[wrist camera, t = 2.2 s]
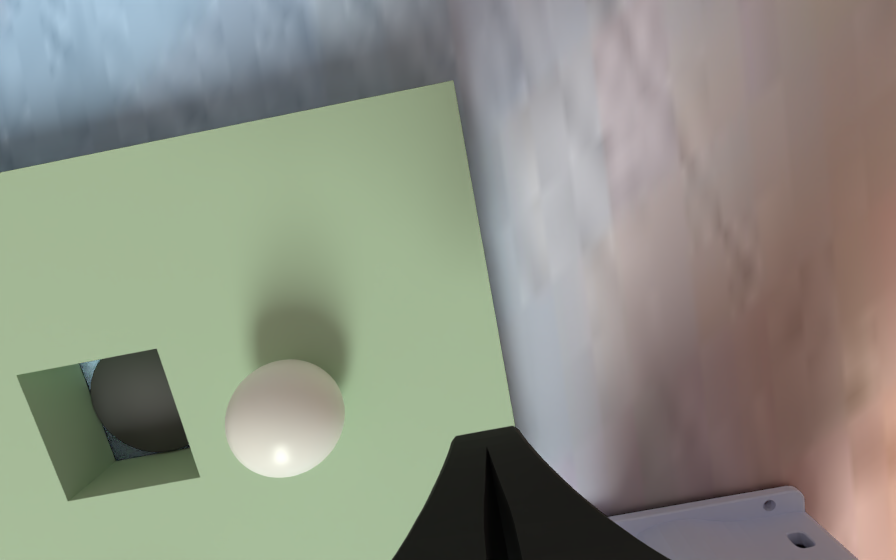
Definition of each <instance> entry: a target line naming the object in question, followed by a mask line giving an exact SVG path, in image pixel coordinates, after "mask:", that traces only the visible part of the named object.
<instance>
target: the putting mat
mask: <svg viewBox="0 0 896 560" xmlns="http://www.w3.org/2000/svg"><path fill="white" fill-rule="evenodd" d="M99 359H101V361H100V362H99V363H98V365H97V366H96V369H95V371H94V373H93V376H92V380H91V394H90V392H89V389H88V386H87V384H86V381H85V378H84V376H83V373H82V370H81V368H80V365H79V363H83V362H88V361H94V360H99ZM287 359H295V360H302V361H306V362H309V363H312V364H314V365H316V366H318V367H320V368H321V369H323V370H324V371H326V372H327V373H328V374H329V375H330V376H331V377H332V378H333V379H334V381H335V382H336V384H337V385H338V387H339V389H340V391H341V394H342V397H343V400H344V405H345V420H344V426H343V430H342V433H341V436H340V438H339V440H338V442H337V444H336V445H335V447H334V449H333V450H332V451H331V453H330V454H329V455H328V456H327V457H326V458H325V459H324V460H323V461H322V462H321V463H319V464H318V465H317V466H315V467H314V468H312V469H310V470H309V471H307V472H304V473H302V474H299V475H296V476H292V477H284V478H273V477H267V476H263V475H260V474H257V473H255V472H253V471H251V470H249V469H248V468H246V467H245V466H244V465H243V464H241V463H240V462H239V460H238V459H237V458H236V457H235V455H234V454H233V452H232V451H231V449H230V447H229V444H228V442H227V438H226V434H225V415H226V410H227V406H228V403H229V401H230V399H231V397H232V395H233V393H234V391H235V390H236V388H237V387H238V385H239V384H240V383H241V382H242V381H243V380H244V379H245V378H246V377H247V376H248V375H249V374H251V373H252V372H253V371H255V370H256V369H258V368H260V367H261V366H264V365H266V364H268V363H271V362H275V361H279V360H287ZM102 424H103V425H104V427H105V428H106V429H107V430H108V431H109V432H110V433H111V434H112V435H113V436H115V437H116V438H117V439H119V440H120V441H122V442H123V443H125V444H127V445H129V446H131V447H134V448H137V449H140V450H144V451H150V452H163V453H158V454H152V455H147V456H141V457H136V458H130V459H125V460H119V461H116V460H115V458H114V455H113V453H112V450H111V447H110V445H109V442H108V439H107V437H106V434H105V431H104V429H103V426H102ZM508 426H514V427H515V423H514V417H513V412H512V406H511V401H510V395H509V389H508V384H507V378H506V373H505V367H504V361H503V356H502V350H501V345H500V339H499V333H498V328H497V322H496V317H495V311H494V305H493V300H492V294H491V289H490V283H489V277H488V272H487V266H486V261H485V255H484V249H483V244H482V238H481V233H480V227H479V221H478V216H477V210H476V205H475V199H474V193H473V188H472V182H471V177H470V171H469V165H468V160H467V154H466V149H465V143H464V137H463V132H462V126H461V121H460V115H459V109H458V104H457V98H456V93H455V87H454V81H448V82H443V83H438V84H433V85H428V86H423V87H418V88H413V89H408V90H403V91H399V92H394V93H389V94H384V95H379V96H374V97H369V98H364V99H359V100H354V101H349V102H344V103H340V104H335V105H330V106H325V107H320V108H315V109H310V110H305V111H300V112H295V113H290V114H286V115H281V116H276V117H271V118H266V119H261V120H256V121H251V122H246V123H241V124H236V125H232V126H227V127H222V128H217V129H212V130H207V131H202V132H197V133H192V134H187V135H182V136H178V137H173V138H168V139H163V140H158V141H153V142H148V143H143V144H138V145H133V146H128V147H124V148H119V149H114V150H109V151H104V152H99V153H94V154H89V155H84V156H79V157H74V158H69V159H65V160H60V161H55V162H50V163H45V164H40V165H35V166H30V167H25V168H20V169H15V170H11V171H6V172H1V173H0V560H392V558H393V557H394V555H395V554H396V552H397V551H398V549H399V548H400V546H401V545H402V543H403V541H404V540H405V538H406V537H407V535H408V533H409V531H410V530H411V528H412V526H413V524H414V523H415V521H416V519H417V517H418V516H419V514H420V512H421V510H422V508H423V507H424V505H425V503H426V501H427V499H428V497H429V495H430V493H431V491H432V488H433V486H434V484H435V482H436V480H437V478H438V476H439V474H440V471H441V469H442V467H443V464H444V462H445V459H446V457H447V454H448V451H449V448H450V445H451V442H452V440H453V439H454V438H455V436H458V435H464V434H469V433H475V432H480V431H486V430H491V429H497V428H502V427H508ZM188 444H189V445H190V448H185V449H179V448H182V447H184V446H186V445H188ZM177 449H179V450H177ZM173 450H174V451H173ZM167 451H169V452H167Z"/></svg>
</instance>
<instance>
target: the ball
mask: <svg viewBox="0 0 896 560" xmlns="http://www.w3.org/2000/svg"><path fill="white" fill-rule="evenodd" d="M344 420H345V405H344V400H343V397H342V394H341V391H340V389H339V387H338V385H337V384H336V382H335V381H334V379H333V378H332V377H331V376H330V375H329V374H328V373H327V372H326V371H324V370H323V369H321V368H320V367H318V366H316V365H314V364H312V363H309V362H306V361H302V360H295V359H287V360H279V361H275V362H271V363H268V364H266V365H264V366H261V367H260V368H258V369H256V370H255V371H253V372H252V373H251V374H249V375H248V376H247V377H246V378H245V379H244V380H243V381H242V382H241V383H240V384H239V385H238V387H237V388H236V390H235V391H234V393H233V395H232V397H231V399H230V401H229V403H228V406H227V410H226V415H225V434H226V438H227V442H228V444H229V447H230V449H231V451H232V452H233V454H234V455H235V457H236V458H237V459H238V460H239V462H240V463H241V464H243V465H244V466H245V467H246V468H248V469H249V470H251V471H253V472H255V473H257V474H260V475H263V476H267V477H273V478H284V477H292V476H296V475H299V474H302V473H304V472H307V471H309V470H310V469H312V468H314V467H315V466H317V465H318V464H319V463H321V462H322V461H323V460H324V459H325V458H326V457H327V456H328V455H329V454H330V453H331V451H332V450H333V449H334V447H335V445H336V444H337V442H338V440H339V438H340V436H341V433H342V430H343V426H344Z"/></svg>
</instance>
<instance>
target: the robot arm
mask: <svg viewBox="0 0 896 560" xmlns="http://www.w3.org/2000/svg"><path fill="white" fill-rule="evenodd" d="M768 500H769V501H768ZM766 501H768V502H767V503H766V504H764V503H765V502H766ZM392 560H858V559H857V558H856V557H855V556H854V555H853V554H852V553H851V552H850V551H848V550H847V549H846V548H845V547H844V546H843V545H842V544H841V543H840V542H838V541H837V540H836V539H835V538H834V537H833V536H832V535H831V534H830V533H828V532H827V531H826V530H825V529H824V528H823V527H822V526H821V525H820V524H818V523H817V522H816V521H815V520H814V519H813V518H812V517H811V516H810V515H808V514H807V513H806V512H805V498H804V495H803V494H802V493H801V492H800V491H799V490H798V489H797V488H796V487H793V486H783V487H777V488H771V489H765V490H760V491H754V492H748V493H742V494H737V495H731V496H725V497H719V498H714V499H708V500H702V501H697V502H691V503H685V504H679V505H674V506H668V507H662V508H656V509H651V510H645V511H639V512H633V513H628V514H622V515H616V516H610V517H607V516H606V515H604V514H603V513H602V512H600V511H599V510H598V509H597V508H595V507H594V506H593V505H592V504H591V503H589V502H588V501H587V500H586V499H585V498H584V497H582V496H581V495H580V494H579V493H578V492H577V491H575V490H574V489H573V488H572V487H571V486H570V485H569V484H568V483H567V482H566V481H565V480H564V479H562V478H561V477H560V476H559V475H558V474H557V473H556V472H555V471H554V470H553V469H552V468H551V467H550V466H549V465H548V464H547V463H546V462H545V461H544V460H543V459H542V457H541V456H540V455H539V454H538V453H537V452H536V451H535V450H534V449H533V447H532V446H531V445H530V444H529V443H528V441H527V440H526V439H525V438H524V436H523V435H522V433H521V432H520V430H519V429H517V428H516V427H514V426H508V427H502V428H497V429H491V430H486V431H480V432H475V433H469V434H464V435H458V436H455V438H454V439H453V440H452V442H451V445H450V448H449V451H448V454H447V457H446V459H445V462H444V464H443V467H442V469H441V471H440V474H439V476H438V478H437V480H436V482H435V484H434V486H433V488H432V491H431V493H430V495H429V497H428V499H427V501H426V503H425V505H424V507H423V508H422V510H421V512H420V514H419V516H418V517H417V519H416V521H415V523H414V524H413V526H412V528H411V530H410V531H409V533H408V535H407V537H406V538H405V540H404V541H403V543H402V545H401V546H400V548H399V549H398V551H397V552H396V554H395V555H394V557H393V558H392Z"/></svg>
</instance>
